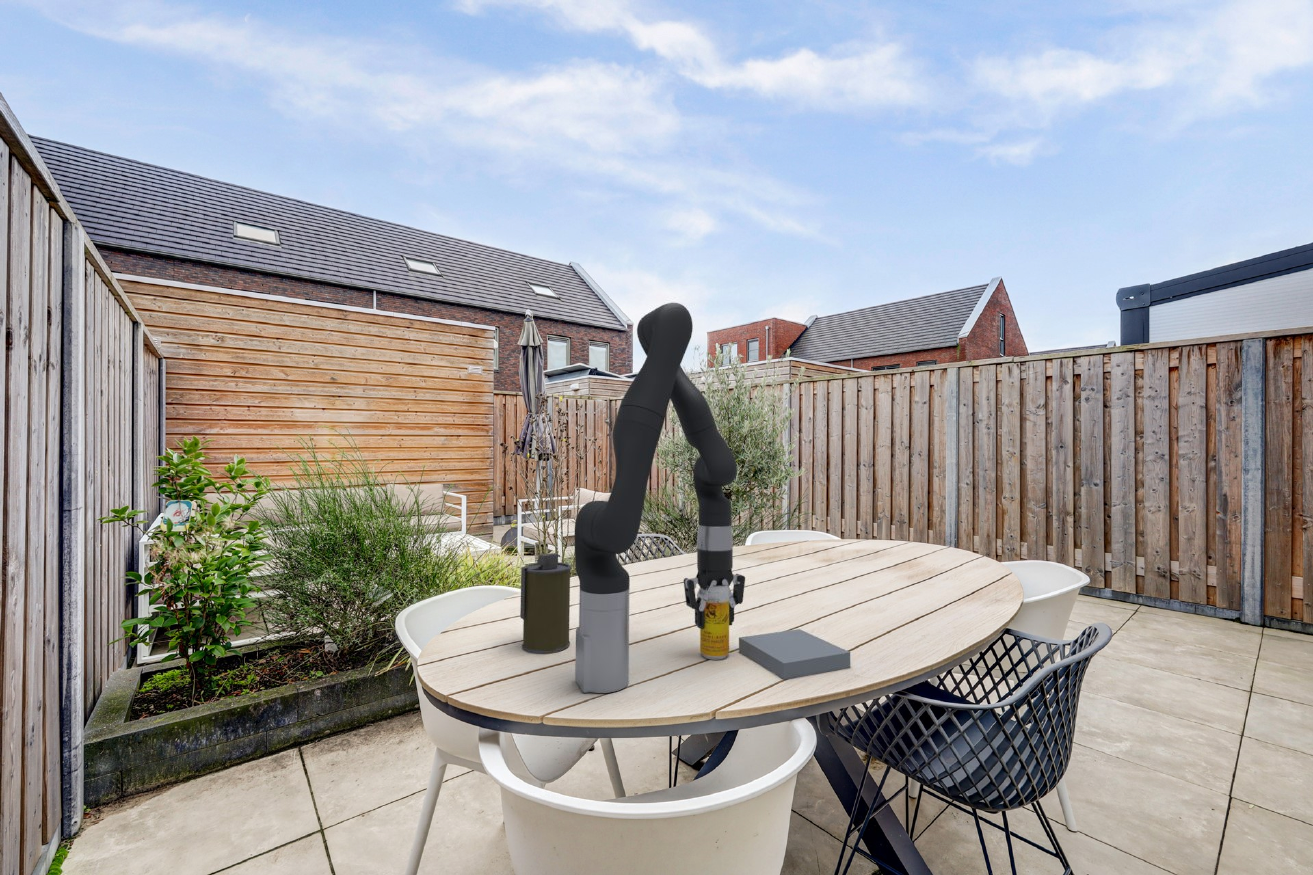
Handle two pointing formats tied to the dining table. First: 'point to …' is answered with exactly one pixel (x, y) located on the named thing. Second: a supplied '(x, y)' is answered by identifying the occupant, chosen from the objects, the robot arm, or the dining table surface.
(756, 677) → the dining table surface
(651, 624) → the dining table surface
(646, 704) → the dining table surface
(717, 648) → the beer can
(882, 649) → the dining table surface
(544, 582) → the canister
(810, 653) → the stand
